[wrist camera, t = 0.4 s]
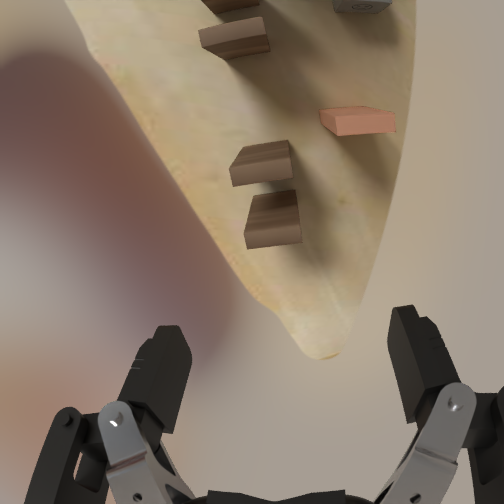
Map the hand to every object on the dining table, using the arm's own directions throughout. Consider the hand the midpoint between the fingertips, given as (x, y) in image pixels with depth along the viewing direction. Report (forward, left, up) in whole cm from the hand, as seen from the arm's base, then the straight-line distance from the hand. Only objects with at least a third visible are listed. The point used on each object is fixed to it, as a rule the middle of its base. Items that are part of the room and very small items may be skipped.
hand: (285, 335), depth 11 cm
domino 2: (-2, -2, -26) cm, 26 cm away
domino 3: (-14, -2, -26) cm, 29 cm away
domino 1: (+4, -2, -26) cm, 26 cm away
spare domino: (-5, +7, -26) cm, 27 cm away
